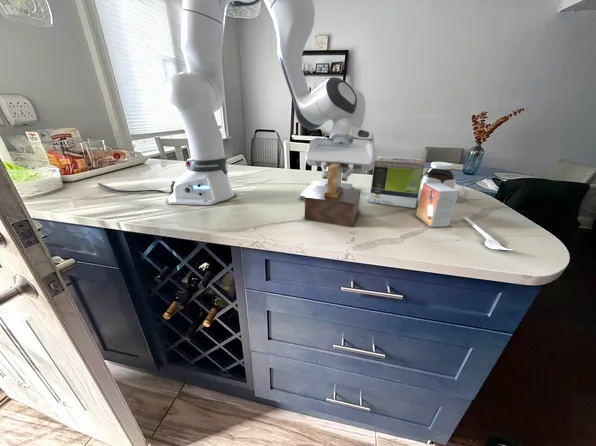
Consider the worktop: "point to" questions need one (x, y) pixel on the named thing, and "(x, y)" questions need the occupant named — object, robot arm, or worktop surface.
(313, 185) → the play button award
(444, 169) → the spread jar
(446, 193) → the small box
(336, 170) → the wooden i-shaped block
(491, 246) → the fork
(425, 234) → the worktop surface
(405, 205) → the tea box
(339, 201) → the wooden box
